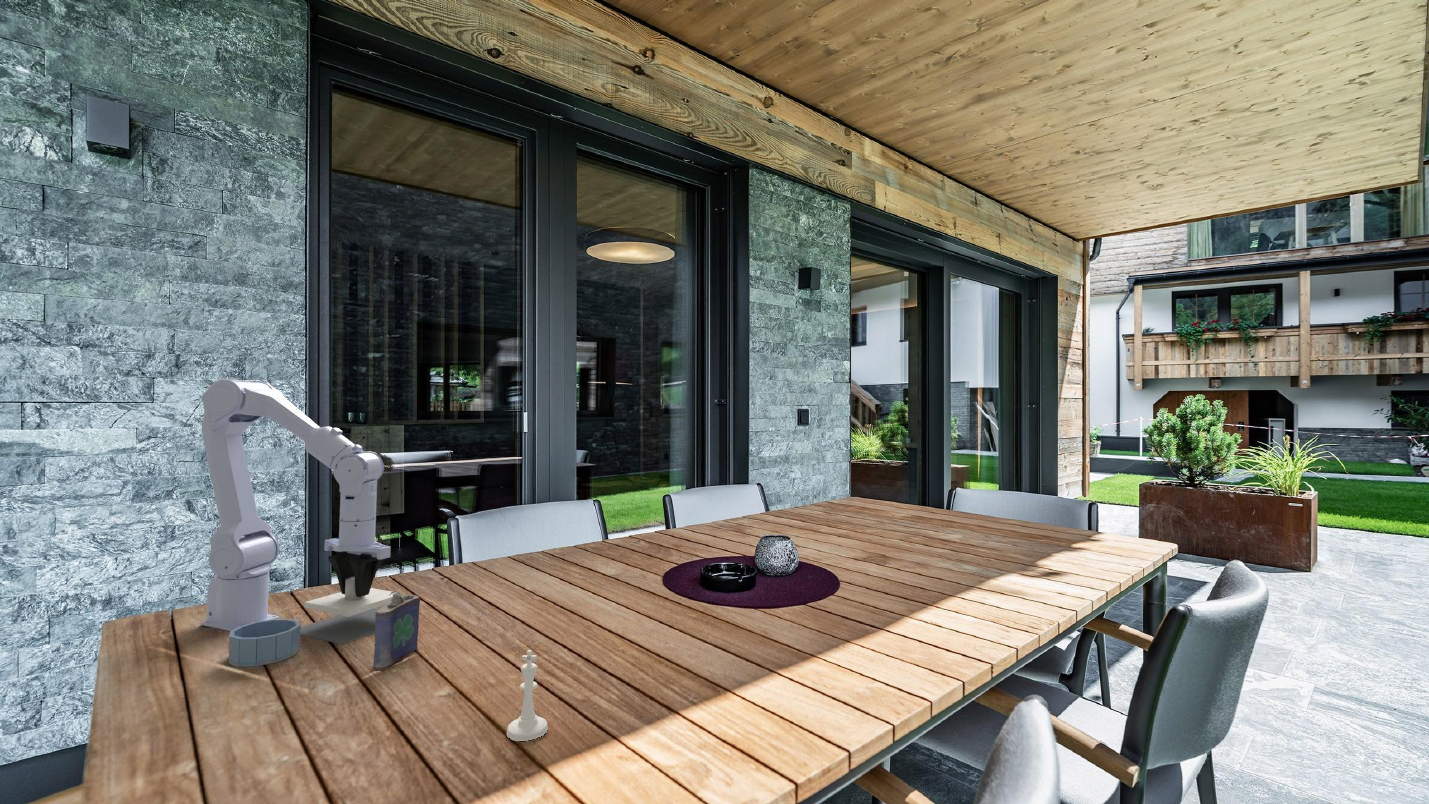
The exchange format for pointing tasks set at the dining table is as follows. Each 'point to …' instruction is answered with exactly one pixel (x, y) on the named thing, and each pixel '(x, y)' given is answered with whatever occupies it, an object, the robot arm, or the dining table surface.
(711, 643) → the dining table surface
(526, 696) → the chess piece
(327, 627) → the mat
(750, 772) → the dining table surface
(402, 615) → the flask
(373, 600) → the lid
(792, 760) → the dining table surface
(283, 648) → the bowl
